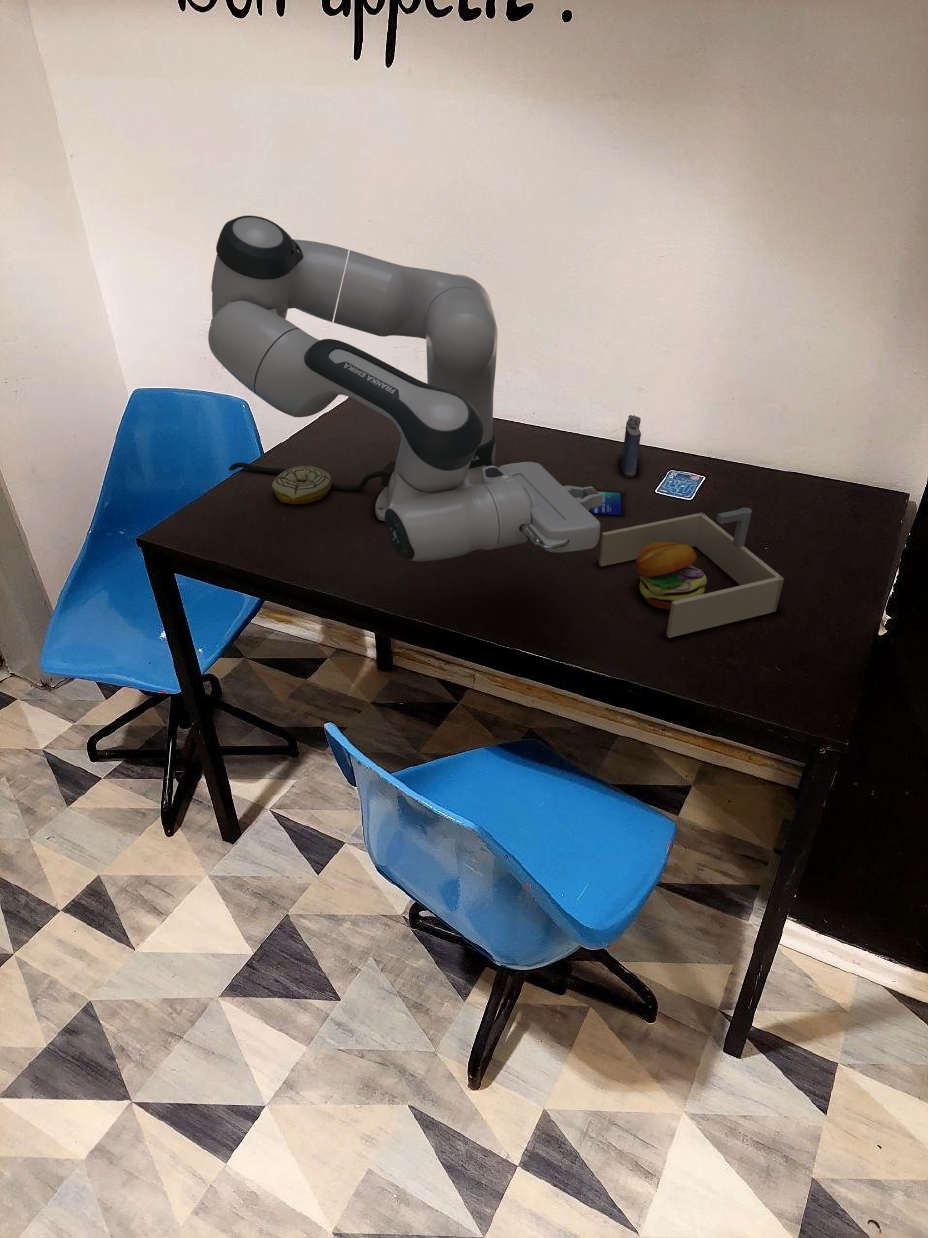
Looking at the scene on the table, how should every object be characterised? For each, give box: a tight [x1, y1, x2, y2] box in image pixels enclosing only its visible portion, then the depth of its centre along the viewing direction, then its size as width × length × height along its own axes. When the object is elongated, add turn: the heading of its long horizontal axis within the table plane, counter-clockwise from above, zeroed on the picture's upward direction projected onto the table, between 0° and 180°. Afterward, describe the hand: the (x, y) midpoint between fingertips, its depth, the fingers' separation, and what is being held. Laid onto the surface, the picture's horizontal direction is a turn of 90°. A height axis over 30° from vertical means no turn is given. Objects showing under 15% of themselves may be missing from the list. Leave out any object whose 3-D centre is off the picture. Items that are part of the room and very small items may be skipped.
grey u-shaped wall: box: [598, 507, 785, 639], centre depth 136 cm, size 19×22×12 cm
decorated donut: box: [271, 465, 332, 505], centre depth 164 cm, size 10×11×4 cm
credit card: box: [590, 491, 622, 516], centre depth 162 cm, size 8×5×1 cm, turn 173°
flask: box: [620, 414, 642, 478], centre depth 171 cm, size 9×3×11 cm, turn 172°
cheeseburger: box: [634, 542, 708, 611], centre depth 136 cm, size 10×11×10 cm
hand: (597, 495), depth 123 cm, fingers closed
